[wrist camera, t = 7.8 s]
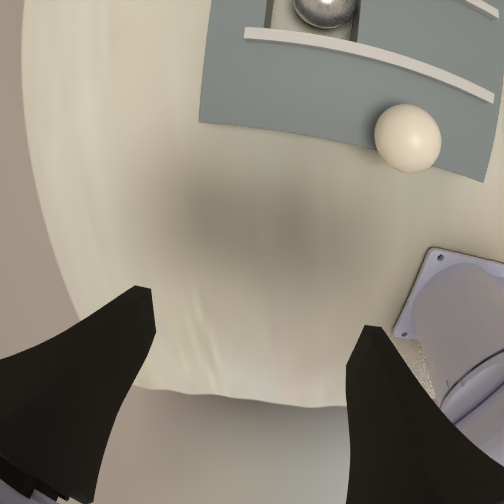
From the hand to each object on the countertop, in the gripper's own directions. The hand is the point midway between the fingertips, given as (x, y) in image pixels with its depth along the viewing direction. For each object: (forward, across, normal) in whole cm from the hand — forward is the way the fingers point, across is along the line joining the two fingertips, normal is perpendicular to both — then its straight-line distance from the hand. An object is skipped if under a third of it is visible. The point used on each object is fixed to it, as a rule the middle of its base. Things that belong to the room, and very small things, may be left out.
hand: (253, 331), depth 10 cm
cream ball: (+6, -6, -6) cm, 11 cm away
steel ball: (+9, -1, -13) cm, 16 cm away
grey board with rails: (+10, -4, -13) cm, 17 cm away
